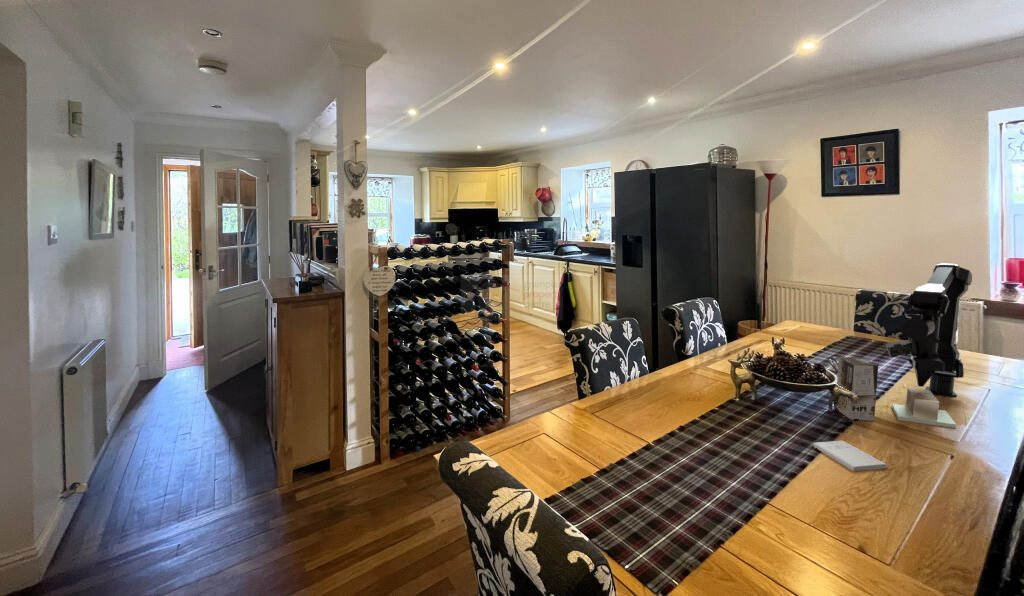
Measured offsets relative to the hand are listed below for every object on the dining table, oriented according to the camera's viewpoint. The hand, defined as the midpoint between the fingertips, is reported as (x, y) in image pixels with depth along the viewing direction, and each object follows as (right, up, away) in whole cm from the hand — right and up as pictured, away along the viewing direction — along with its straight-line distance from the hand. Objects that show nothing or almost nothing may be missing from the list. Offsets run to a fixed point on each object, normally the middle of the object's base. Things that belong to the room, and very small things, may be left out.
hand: (920, 386), depth 136 cm
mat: (-2, -8, -3) cm, 9 cm away
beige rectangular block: (+1, -4, +2) cm, 5 cm away
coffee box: (-19, -8, 0) cm, 21 cm away
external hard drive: (-38, -13, -24) cm, 47 cm away
